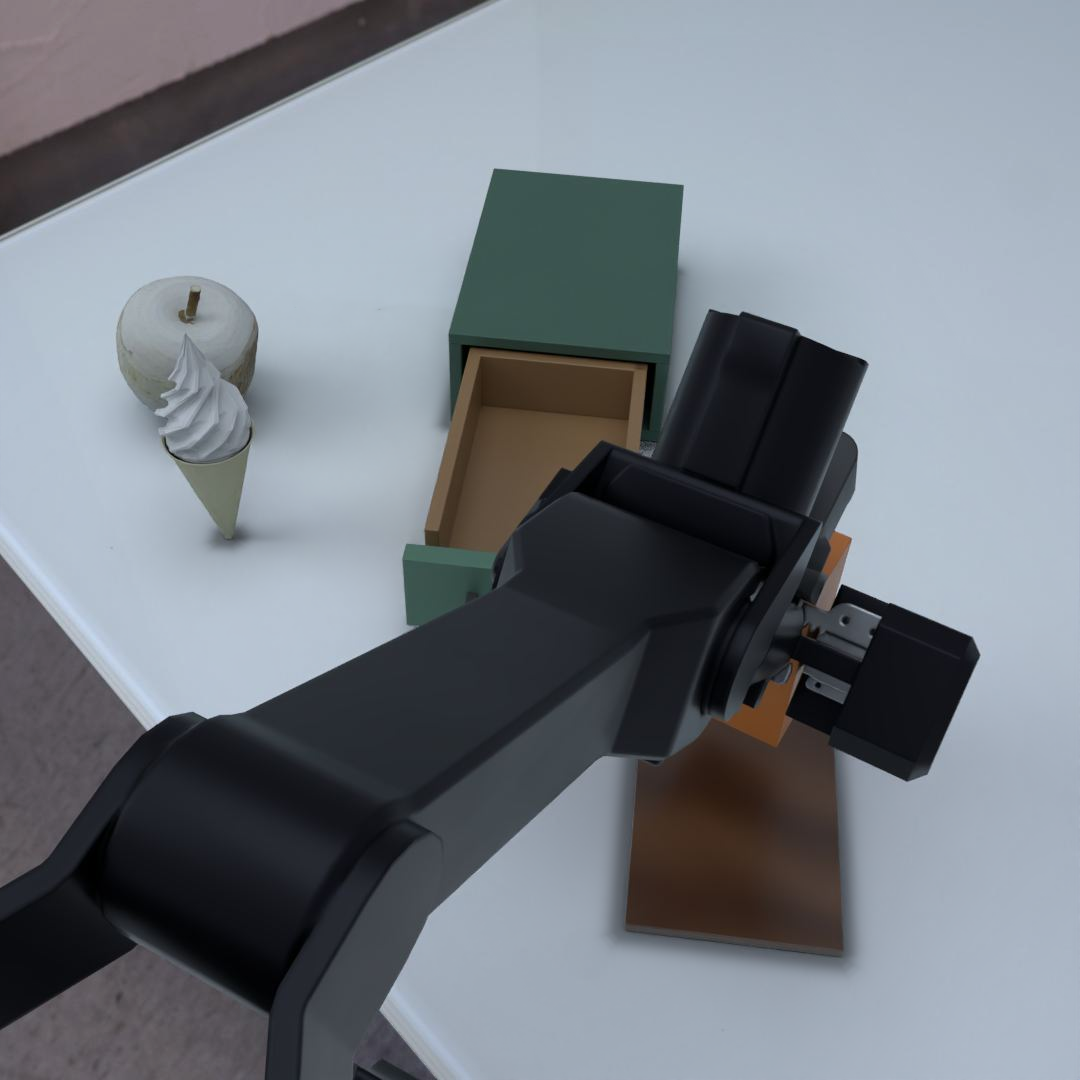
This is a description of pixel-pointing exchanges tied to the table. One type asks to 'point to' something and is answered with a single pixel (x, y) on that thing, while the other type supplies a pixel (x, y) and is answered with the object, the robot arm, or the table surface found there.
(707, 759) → the board
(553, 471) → the drawer
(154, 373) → the decorative object
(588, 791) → the table surface
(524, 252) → the cabinet
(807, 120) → the table surface
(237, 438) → the ice cream cone
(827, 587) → the orange rectangular prism
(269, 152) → the table surface
